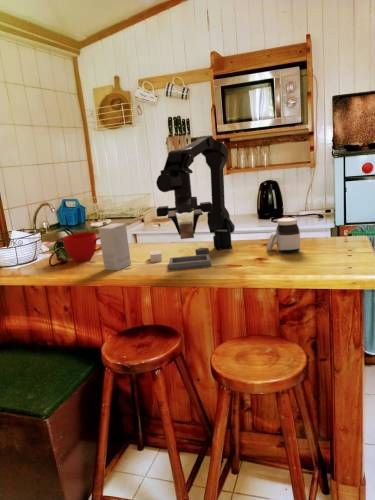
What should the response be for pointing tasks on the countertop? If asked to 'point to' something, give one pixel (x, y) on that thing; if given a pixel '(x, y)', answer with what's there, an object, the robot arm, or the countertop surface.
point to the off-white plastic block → (155, 255)
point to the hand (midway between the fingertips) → (186, 234)
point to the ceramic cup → (81, 246)
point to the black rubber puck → (202, 251)
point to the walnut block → (186, 230)
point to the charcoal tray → (189, 262)
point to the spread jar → (285, 236)
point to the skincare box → (114, 246)
